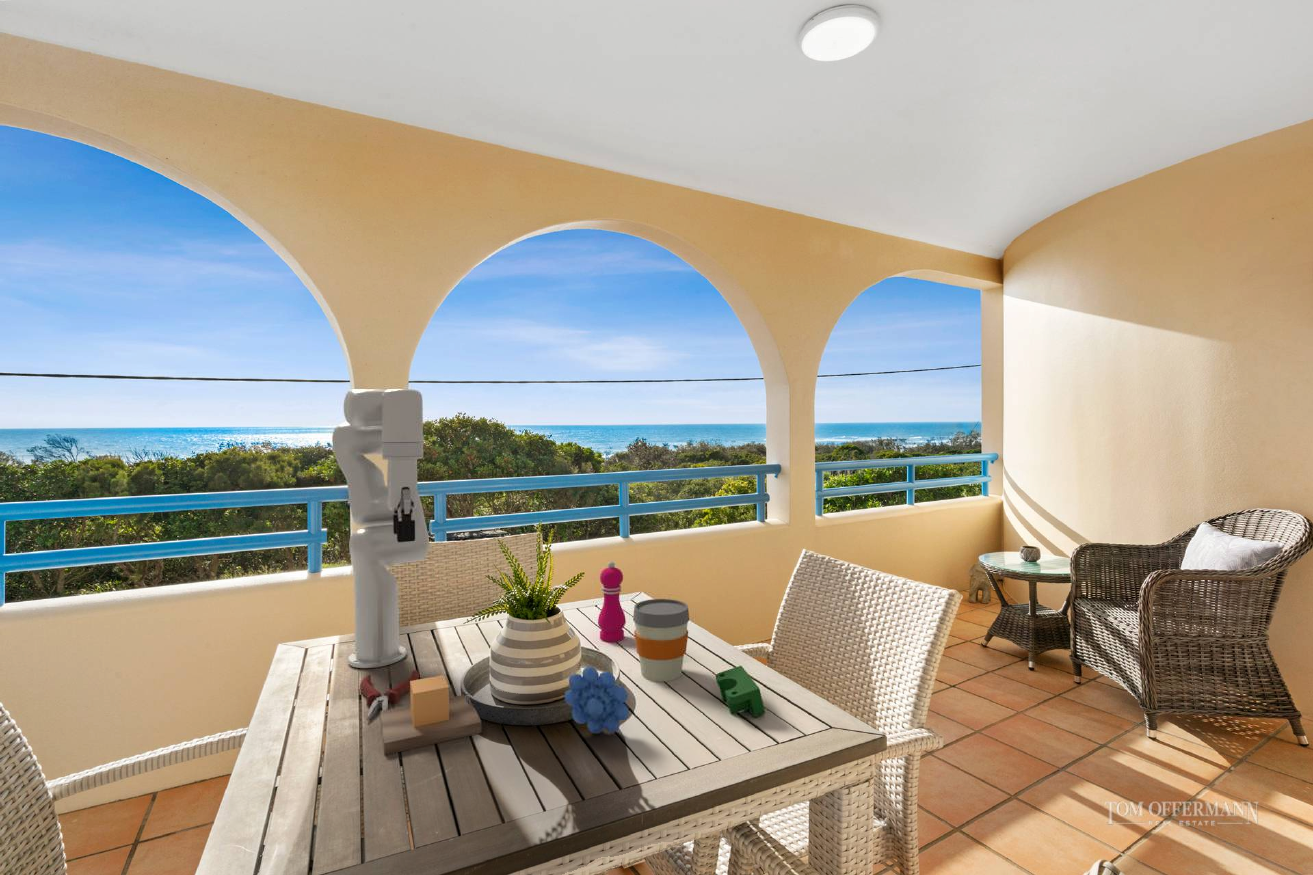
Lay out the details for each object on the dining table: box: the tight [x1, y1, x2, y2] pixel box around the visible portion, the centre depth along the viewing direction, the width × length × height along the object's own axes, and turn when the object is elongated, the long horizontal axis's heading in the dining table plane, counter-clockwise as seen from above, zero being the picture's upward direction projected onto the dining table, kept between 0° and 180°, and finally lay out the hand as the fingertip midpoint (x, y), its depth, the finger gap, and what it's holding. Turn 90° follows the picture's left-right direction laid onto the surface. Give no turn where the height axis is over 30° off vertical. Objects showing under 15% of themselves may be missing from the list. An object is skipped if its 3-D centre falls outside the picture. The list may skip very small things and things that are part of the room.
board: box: [379, 693, 482, 756], centre depth 112 cm, size 13×16×6 cm
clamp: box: [715, 665, 766, 718], centre depth 120 cm, size 12×6×9 cm, turn 4°
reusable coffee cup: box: [632, 598, 690, 683], centre depth 136 cm, size 13×13×15 cm
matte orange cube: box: [409, 674, 450, 727], centre depth 112 cm, size 6×6×6 cm
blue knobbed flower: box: [564, 666, 630, 735], centre depth 109 cm, size 12×7×12 cm, turn 87°
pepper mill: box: [597, 561, 627, 643], centre depth 159 cm, size 7×7×20 cm
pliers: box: [359, 669, 420, 722], centre depth 124 cm, size 12×20×3 cm, turn 15°
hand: (404, 537), depth 122 cm, fingers open, 9 cm apart
